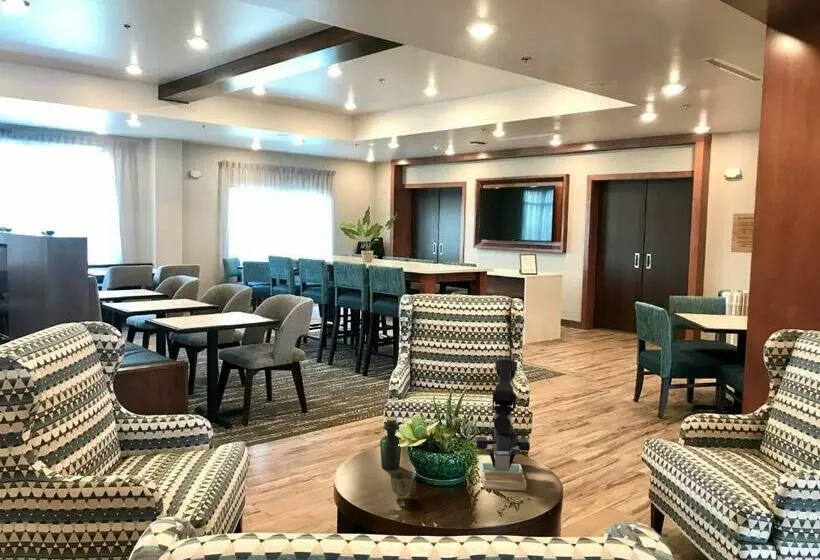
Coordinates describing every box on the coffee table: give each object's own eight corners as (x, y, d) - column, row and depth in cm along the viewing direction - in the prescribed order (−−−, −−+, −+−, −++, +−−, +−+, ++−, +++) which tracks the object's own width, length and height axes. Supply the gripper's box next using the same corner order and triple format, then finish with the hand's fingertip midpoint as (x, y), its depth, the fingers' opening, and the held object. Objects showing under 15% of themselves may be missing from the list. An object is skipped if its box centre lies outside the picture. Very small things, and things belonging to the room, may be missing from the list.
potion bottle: (400, 463, 238) (401, 415, 236) (402, 470, 229) (404, 421, 228) (378, 463, 236) (379, 416, 235) (380, 471, 228) (381, 422, 227)
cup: (401, 492, 210) (402, 468, 209) (417, 498, 205) (418, 474, 204) (385, 498, 205) (385, 473, 204) (400, 505, 199) (401, 480, 199)
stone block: (493, 467, 228) (494, 451, 228) (507, 467, 228) (508, 451, 227) (494, 472, 223) (495, 455, 223) (509, 473, 223) (509, 456, 222)
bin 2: (482, 481, 221) (482, 471, 220) (523, 483, 220) (523, 473, 220) (483, 491, 212) (483, 480, 212) (526, 493, 211) (526, 482, 211)
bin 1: (480, 471, 230) (480, 462, 230) (519, 473, 229) (520, 464, 229) (481, 480, 222) (482, 470, 222) (522, 482, 221) (523, 472, 221)
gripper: (477, 429, 217) (476, 474, 218) (532, 431, 216) (531, 476, 217) (476, 420, 228) (474, 463, 229) (528, 422, 227) (526, 465, 228)
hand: (501, 467), depth 225 cm, fingers closed on stone block, 5 cm apart
